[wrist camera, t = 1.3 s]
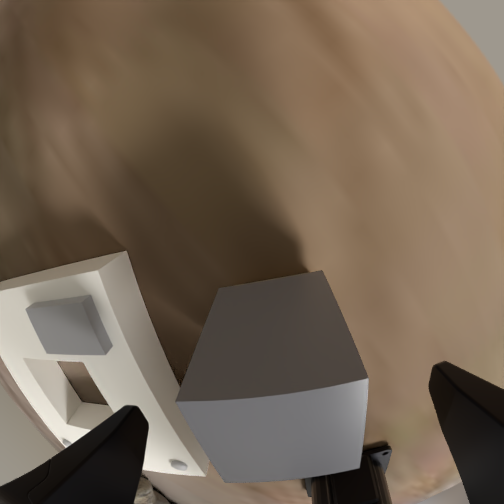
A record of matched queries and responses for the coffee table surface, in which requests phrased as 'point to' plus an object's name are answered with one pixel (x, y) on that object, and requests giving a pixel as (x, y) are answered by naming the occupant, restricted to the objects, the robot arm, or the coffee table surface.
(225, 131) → the coffee table surface
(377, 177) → the coffee table surface
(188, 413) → the plug
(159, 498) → the stone
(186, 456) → the socket plate
